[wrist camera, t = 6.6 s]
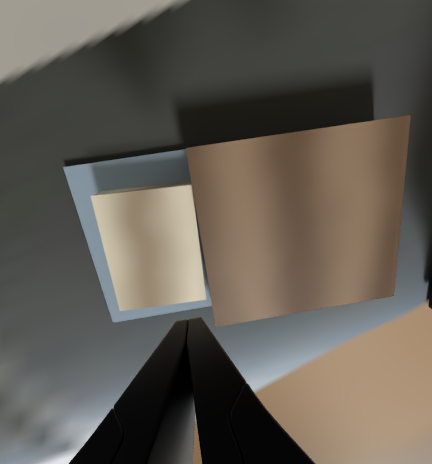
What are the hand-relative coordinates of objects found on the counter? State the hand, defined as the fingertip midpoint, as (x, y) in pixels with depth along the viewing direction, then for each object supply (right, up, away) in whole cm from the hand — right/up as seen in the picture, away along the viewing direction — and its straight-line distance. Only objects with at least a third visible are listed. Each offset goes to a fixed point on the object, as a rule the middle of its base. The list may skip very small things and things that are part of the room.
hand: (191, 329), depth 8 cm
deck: (+6, +4, +10) cm, 13 cm away
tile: (-3, +3, +9) cm, 10 cm away
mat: (-4, +3, +10) cm, 11 cm away
